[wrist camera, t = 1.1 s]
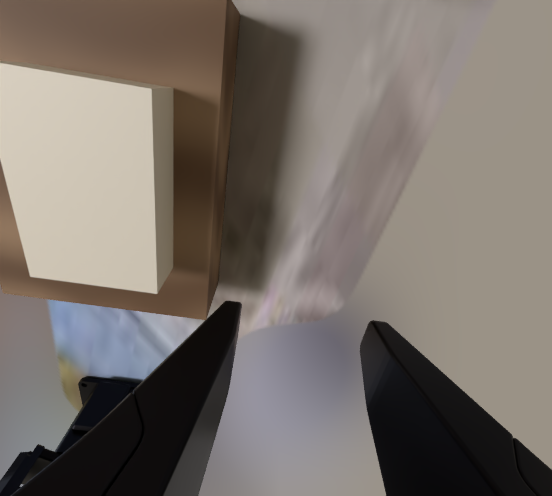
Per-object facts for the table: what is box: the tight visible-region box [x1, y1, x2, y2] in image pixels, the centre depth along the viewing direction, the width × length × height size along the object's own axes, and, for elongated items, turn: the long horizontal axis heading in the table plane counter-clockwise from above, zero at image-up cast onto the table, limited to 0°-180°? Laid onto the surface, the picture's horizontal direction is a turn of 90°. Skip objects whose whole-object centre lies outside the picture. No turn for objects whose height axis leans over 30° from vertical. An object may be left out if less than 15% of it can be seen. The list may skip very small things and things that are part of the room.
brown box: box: [0, 0, 240, 320], centre depth 17 cm, size 16×12×4 cm
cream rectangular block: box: [0, 61, 173, 294], centre depth 14 cm, size 9×6×2 cm, turn 171°
